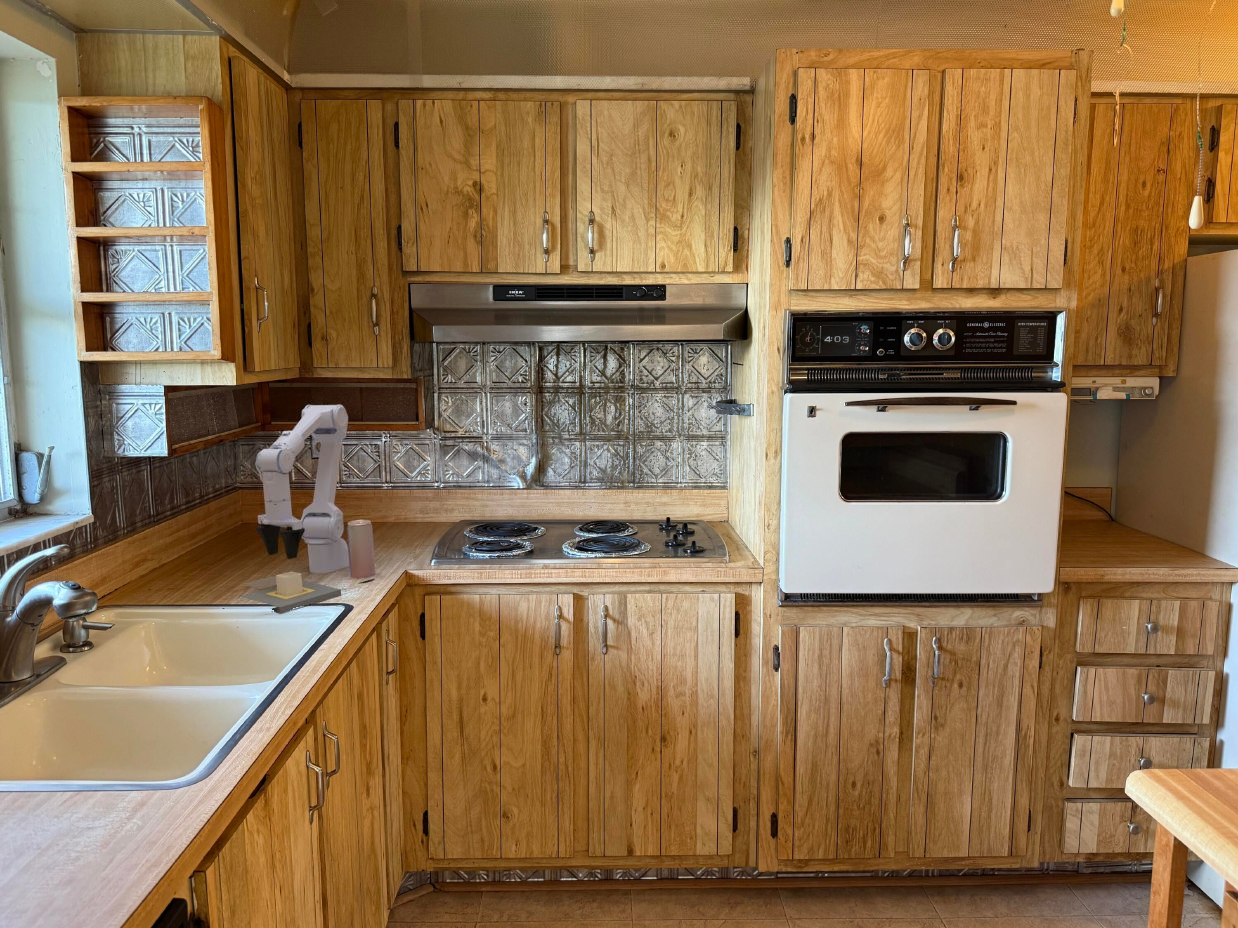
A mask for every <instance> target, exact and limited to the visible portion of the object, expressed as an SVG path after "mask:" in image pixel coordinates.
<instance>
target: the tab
mask: <svg viewBox="0 0 1238 928" xmlns="http://www.w3.org/2000/svg"><path fill="white" fill-rule="evenodd" d="M243 585H244V586H248V587H252V588H255V589H259V590H264V589H268V588H272V587H275V586H277V581H276V576H268V577H265V578H260V579H256V580H252V581H250V582H246V583H243Z"/></svg>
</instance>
